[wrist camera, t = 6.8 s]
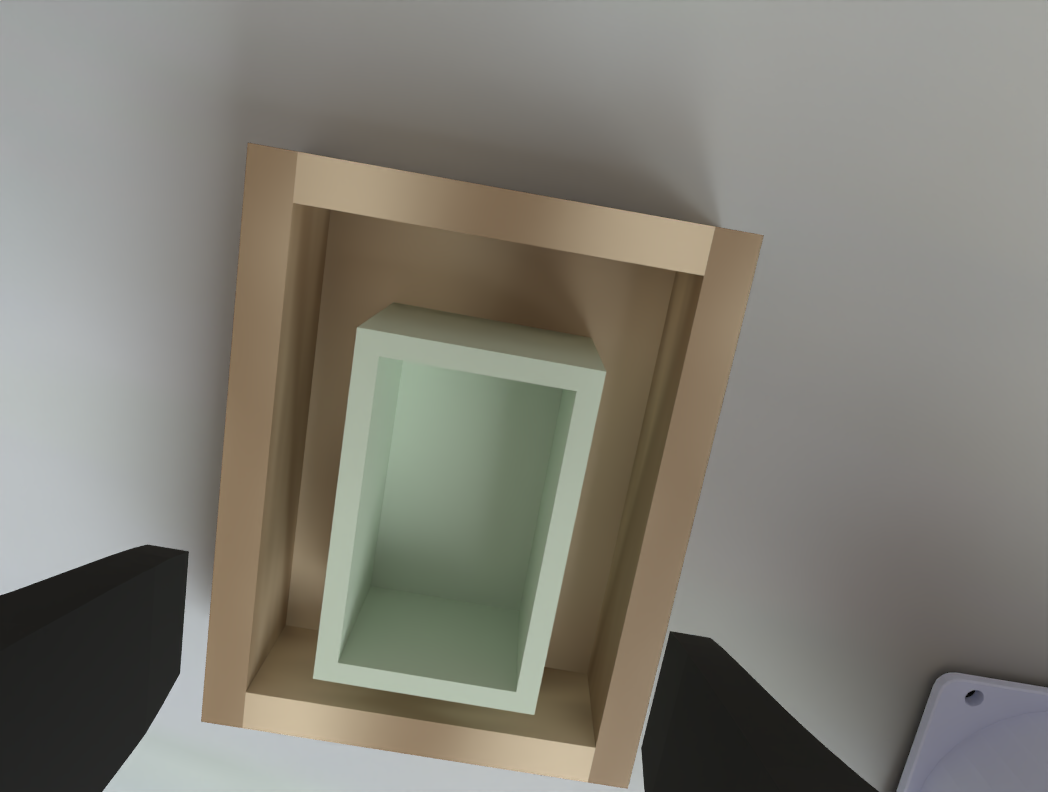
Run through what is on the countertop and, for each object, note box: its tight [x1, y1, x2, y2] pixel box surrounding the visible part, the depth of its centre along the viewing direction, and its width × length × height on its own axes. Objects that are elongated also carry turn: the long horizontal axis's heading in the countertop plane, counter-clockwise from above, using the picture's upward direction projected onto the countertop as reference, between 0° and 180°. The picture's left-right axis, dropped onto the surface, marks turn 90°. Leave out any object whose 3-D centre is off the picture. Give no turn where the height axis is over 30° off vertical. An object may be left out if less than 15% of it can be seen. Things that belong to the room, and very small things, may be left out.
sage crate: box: [313, 302, 606, 715], centre depth 18 cm, size 5×8×4 cm, turn 170°
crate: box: [201, 143, 764, 789], centre depth 19 cm, size 10×14×4 cm
